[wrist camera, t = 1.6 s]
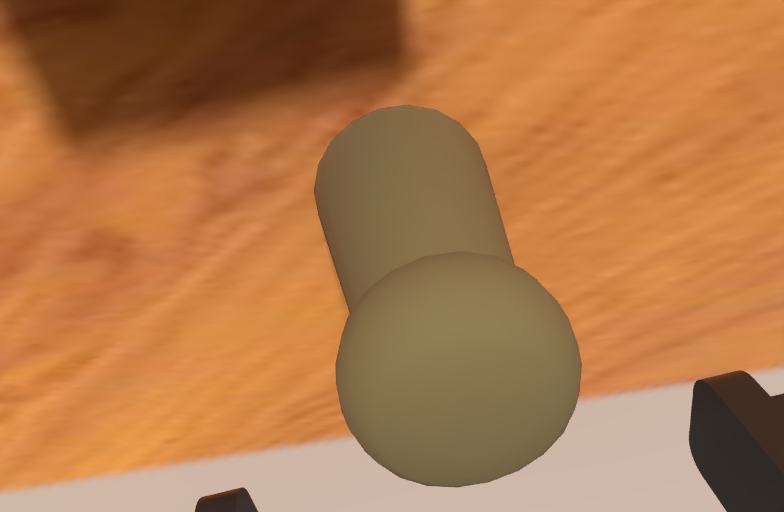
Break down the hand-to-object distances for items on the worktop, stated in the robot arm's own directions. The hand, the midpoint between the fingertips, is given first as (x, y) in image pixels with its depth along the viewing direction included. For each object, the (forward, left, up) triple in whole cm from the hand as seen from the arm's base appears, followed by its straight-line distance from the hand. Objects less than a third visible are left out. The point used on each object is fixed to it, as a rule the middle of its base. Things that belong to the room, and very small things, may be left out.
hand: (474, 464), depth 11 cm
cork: (0, 0, -12) cm, 12 cm away
